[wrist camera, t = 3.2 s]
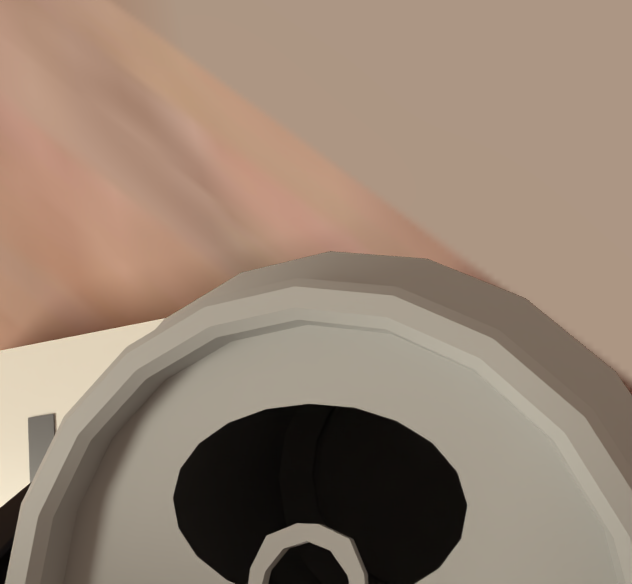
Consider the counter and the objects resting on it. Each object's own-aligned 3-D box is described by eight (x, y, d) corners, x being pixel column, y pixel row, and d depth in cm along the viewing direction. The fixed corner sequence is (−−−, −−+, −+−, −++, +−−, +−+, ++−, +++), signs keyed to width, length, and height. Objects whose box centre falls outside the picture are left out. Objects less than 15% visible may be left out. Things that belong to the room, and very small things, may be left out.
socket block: (286, 685, 16) (245, 747, 13) (-21, 699, 18) (-114, 754, 16) (245, 325, 18) (202, 310, 16) (-25, 376, 21) (-107, 371, 18)
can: (553, 332, 16) (742, 161, 5) (580, 635, 15) (945, 1432, 3) (287, 344, 18) (-38, 241, 7) (289, 614, 17) (-123, 1082, 5)
